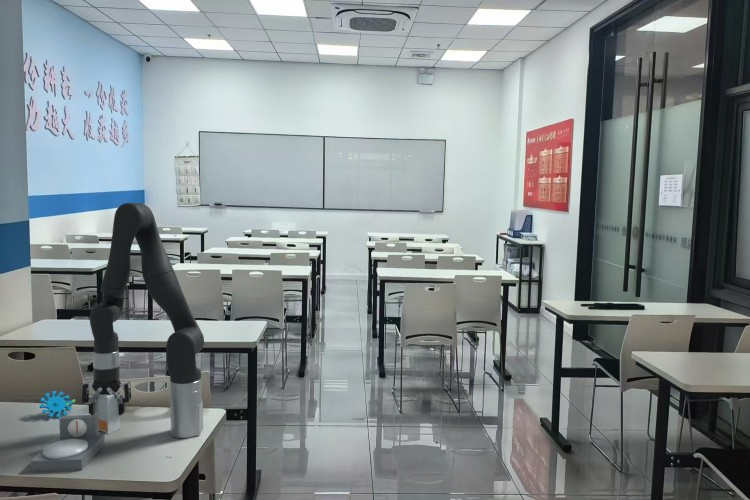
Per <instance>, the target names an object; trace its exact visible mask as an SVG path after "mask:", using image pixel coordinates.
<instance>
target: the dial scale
mask: <svg viewBox="0 0 750 500" xmlns="http://www.w3.org/2000/svg"><path fill="white" fill-rule="evenodd" d="M58 419H59V434H58V435H57V436H56V437H55V438H54V439H53V440H52V441H50V443H49V444H48V445H47V446H46V447H44V448H43V449H42V450H41V451H40V452H39V453H38V454H37V455H36V456H35V457H34V458H33V459H31V460H30V470H31V471H30V472H31V473H32V472H33V473H35V472H37V473H38V472H40V473H41V472H63V471H65V472H67V471H83V470H84V469H85V467H86V466H87V465H88V463H89V462H91V460H92V459H93V458H94V457H95V456H96V454H97V453H99V451H100V449H102V447H103V446H104V445H105V444H106V442H105V441H106V440H105V438H106V437H105V433H100V432H99V431H100V430H99V422H98V415H97V414H95V415H91V414H86V415H84V414H83V415H78V414H77V415H76V414H75V415H66V416H63V415H61V417H60V418H58ZM89 464H90V463H89Z"/></svg>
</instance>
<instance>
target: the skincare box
mask: <svg viewBox="0 0 750 500" xmlns="http://www.w3.org/2000/svg"><path fill="white" fill-rule="evenodd" d="M116 394H117V395H119V394H118V393H116ZM95 401H96V402H95V407H96V415H98V422H99V431H101V432H103V433H104V434H105V433H106V434H107V435H108V434H112V433H113V432H117V431H119V430H120V429H121V428H120V415H119V402H118V401H117V400H116V399H115V395H111V394H100V395H98V396H97V398H96V400H95Z"/></svg>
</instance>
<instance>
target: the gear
mask: <svg viewBox="0 0 750 500" xmlns="http://www.w3.org/2000/svg"><path fill="white" fill-rule="evenodd" d="M56 394H57V391H56V390H53V391H52V392H51V396H52V397H50V393H49V392H47V393H45V394H44V397H41V399H40V401H39V402H40V405H39V409H43V410H42V411H41V412H42V414H43V415H45V414H47V413H49V414H48V415H47V416H48V417H49V418H50V419H52V418H53V417H54V414H56V413H57V414H56V415H55V418H56V419H60V418H61V417H62V416H68V412H71V410H72V408H73V407H72V405H74V404H75V402H76V399H71V400H69V399H70V395H68V394H67V395H65V396H64V394H65V393H64V392H63V391H60V392H59V393H58V395H56ZM55 395H56V396H55ZM46 399H47V400H46ZM61 412H63V413H62V415H61Z"/></svg>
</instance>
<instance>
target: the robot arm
mask: <svg viewBox="0 0 750 500" xmlns="http://www.w3.org/2000/svg"><path fill="white" fill-rule="evenodd" d="M112 223H113V224H112V233H111V242H110V249H109V255H108V260H107V264H106V268H105V271H104V275H103V277H102V278H103V279H102V283H101V285H100V292H101V293H102V299H101V302H100V303H99V304H96V305H95V306H93V308H92V309H91V310H90V314H89V324H90V329H91V333H92V336H93V361H92V367H93V369H92V370H93V373H92V374H93V383H92V382H89V381H86V382H84V383H83V384H82V390H81V391H82V392H81V402H82V403H85V404H88V413H89V414H88V415H96V414H97V407H96V402H95V401H96V398H97V396H98V395H100V394H111V395H115V399H116V400H117V401H118V402H119V416H122V415H124V413H125V412H126V403H129V402H130V401H131V400H132V388H131V382H130V381H126V382H122V381H121V380H120V379H121V375H120V374H121V373H120V372H121V371H120V368H121V367H120V366H121V365H120V352H119V351H120V349H119V346H120V345H119V335H118V333H117V332H116V331H115V330H114V329H115V328H114V323H115V322H117V321H118V320H119V318H120V317H121V316H122V314H123V313H122V312H123V310H124V303H125V292H126V289H127V285H128V282H129V279H130V274H131V250H132V246H133V242H134V239H135V240H136V243H137V246H138V248H139V251H140V258H141V260H140V262H141V264H140V265H141V274H142V278H143V281H144V284H145V286H146V289H147V291H148V293H149V295H150V297H151V298H152V299H153V300H154V301H153V302H155V303H156V304H157V305H158V306H159V307H160V309H162V310H163V312H164V313H165V314H166V316H167V317H168V319H169V320H170V323H171V326H172V328H173V331H174V332H173V333H171V334H170V336H169V337H168V338H167V341H166V347H165V349H166V351H165V353H166V355H165V356H166V368H167V373H168V375H169V380H170V381H169V385H170V386H169V387H170V389H169V390H170V435H171V436H172V437H174V438H177V439H187V438H189V439H190V438H193V437H196V436H201V433H202V431H203V429H204V401H203V399H202V371H201V369H200V368H199V367H197V361H196V360H197V358H196V355H197V354H198V353H200V352H201V351H202V350H203V348H204V345H205V336H204V334H203V332H202V330H201V328H200V326H199V324H198V323H197V321H196V319H195V317H194V315H193V313H192V312H191V309H190V307H189V304H188V302H187V299H186V297H185V295H184V292H183V289H182V287H181V285H180V282H179V279H178V276H177V275H176V272H175V270H174V269H175V268H174V267H173V266H172V263H171V261H170V258H169V256H168V254H167V251H166V249H165V247H164V244H163V242H162V239H161V236H160V233H159V229H158V226H157V222H156V218H155V215H154V214H153V211H152V210H151V208H150V207H149V206H148V205H146V204H144V203H141V202H125V203H123V204H120V205H119V206H118V207H117V209H116V211H115V212H114V217H113V222H112ZM91 388H92V389H93V390H94V393H93V395H92V396H91V397H90V390H91ZM120 388H121V389H122V390H123V391H124V395H123V393H122V392H121V391H120ZM116 393H118V394H119V395H117V394H116Z"/></svg>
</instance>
